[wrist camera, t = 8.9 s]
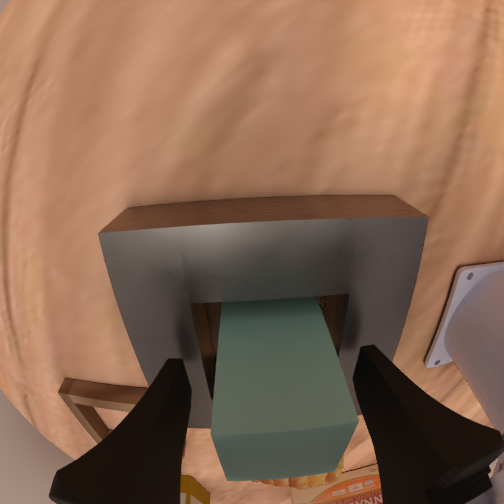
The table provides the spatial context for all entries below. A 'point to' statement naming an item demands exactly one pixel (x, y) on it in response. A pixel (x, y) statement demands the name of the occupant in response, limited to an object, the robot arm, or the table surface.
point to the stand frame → (98, 403)
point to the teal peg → (279, 392)
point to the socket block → (262, 273)
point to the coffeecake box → (343, 489)
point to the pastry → (307, 479)
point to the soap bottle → (193, 492)
